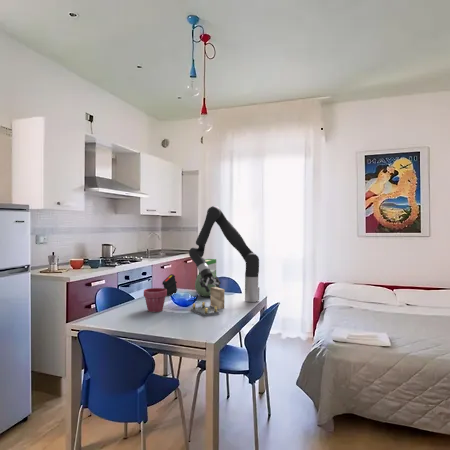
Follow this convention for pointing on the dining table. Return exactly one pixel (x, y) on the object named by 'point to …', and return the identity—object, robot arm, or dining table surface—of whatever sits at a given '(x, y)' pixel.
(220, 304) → the panel
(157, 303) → the plant pot
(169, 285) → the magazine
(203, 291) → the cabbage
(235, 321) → the dining table surface
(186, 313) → the dining table surface
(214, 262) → the hardback book
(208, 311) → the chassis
